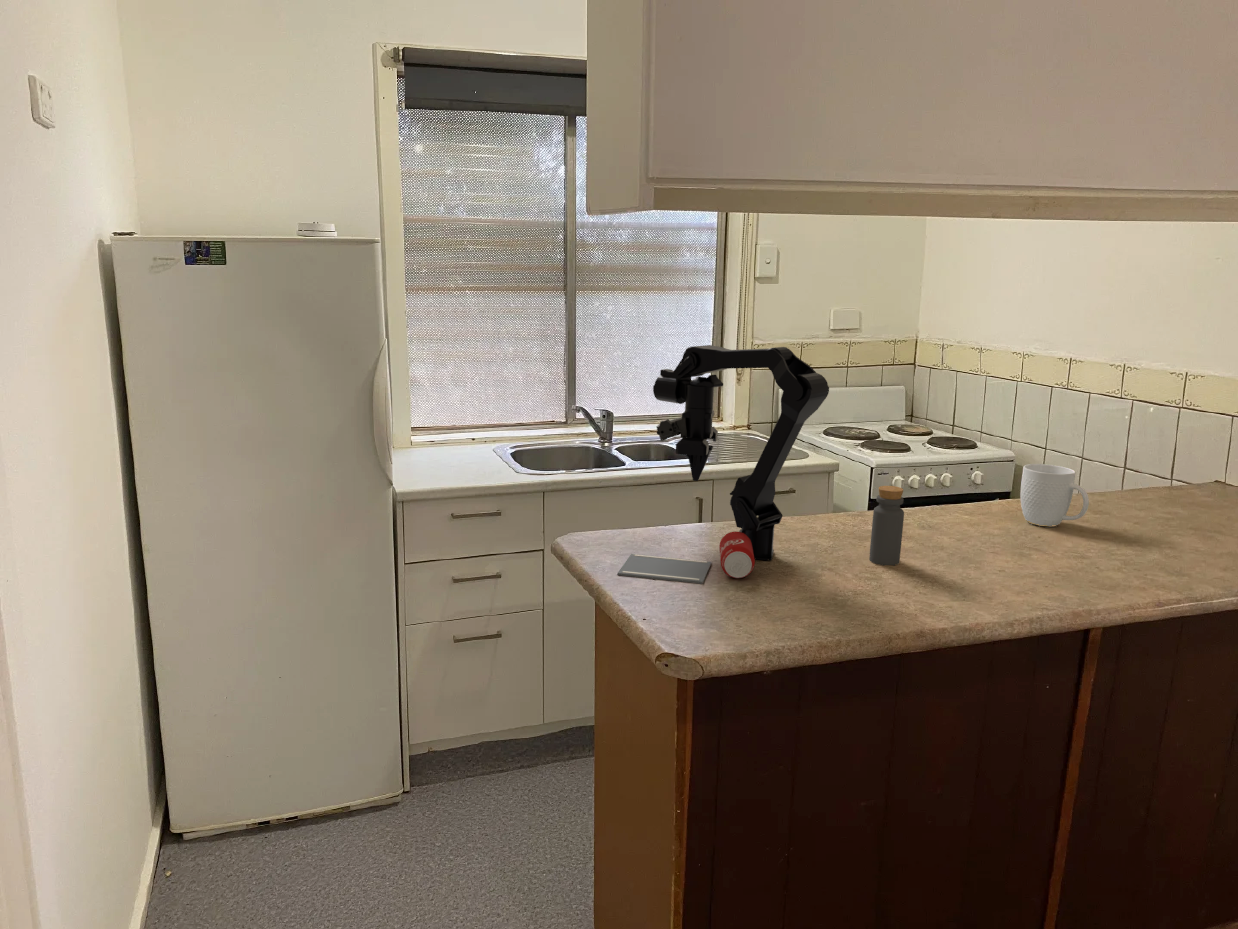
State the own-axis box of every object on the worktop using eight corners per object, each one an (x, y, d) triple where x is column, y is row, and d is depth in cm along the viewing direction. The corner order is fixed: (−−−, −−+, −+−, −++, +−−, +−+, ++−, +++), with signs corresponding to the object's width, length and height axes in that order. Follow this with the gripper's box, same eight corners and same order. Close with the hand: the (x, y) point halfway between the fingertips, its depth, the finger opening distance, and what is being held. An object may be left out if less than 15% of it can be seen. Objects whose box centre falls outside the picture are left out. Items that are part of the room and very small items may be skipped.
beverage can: (733, 523, 183) (735, 541, 171) (758, 543, 183) (762, 562, 172) (712, 547, 184) (713, 567, 173) (737, 566, 185) (740, 587, 173)
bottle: (901, 559, 188) (908, 487, 185) (896, 567, 183) (904, 493, 180) (871, 555, 190) (878, 483, 187) (866, 563, 185) (873, 489, 182)
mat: (711, 563, 182) (711, 561, 182) (702, 583, 171) (702, 581, 171) (631, 555, 186) (631, 553, 186) (617, 575, 174) (617, 572, 174)
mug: (1093, 528, 215) (1101, 472, 212) (1074, 537, 207) (1082, 479, 204) (1028, 514, 225) (1034, 461, 222) (1008, 522, 217) (1015, 467, 215)
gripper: (668, 398, 203) (665, 468, 207) (652, 411, 186) (649, 487, 189) (719, 401, 201) (715, 472, 204) (707, 414, 183) (704, 492, 187)
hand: (695, 480), depth 196 cm, fingers closed
